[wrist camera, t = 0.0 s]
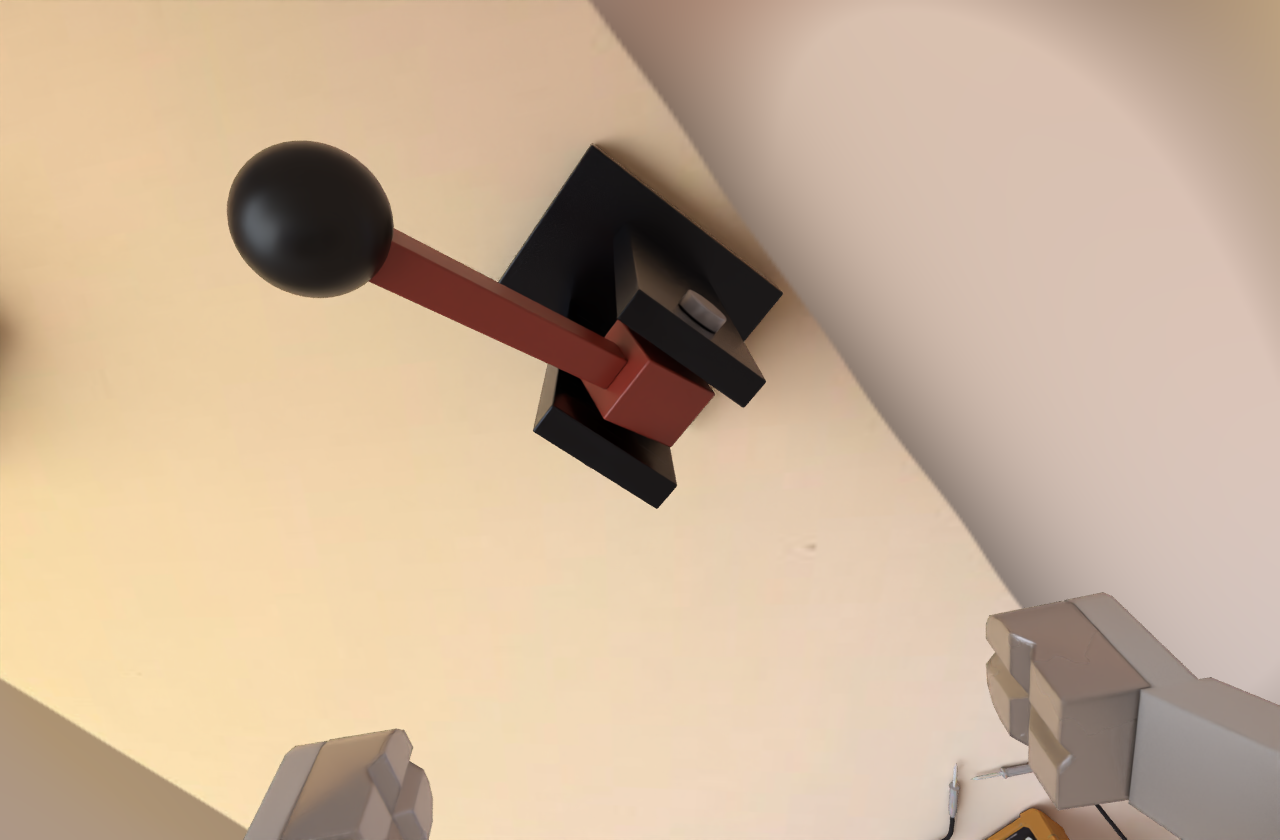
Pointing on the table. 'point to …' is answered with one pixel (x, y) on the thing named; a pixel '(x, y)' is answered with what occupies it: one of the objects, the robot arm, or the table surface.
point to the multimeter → (1031, 833)
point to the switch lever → (436, 282)
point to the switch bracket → (636, 308)
